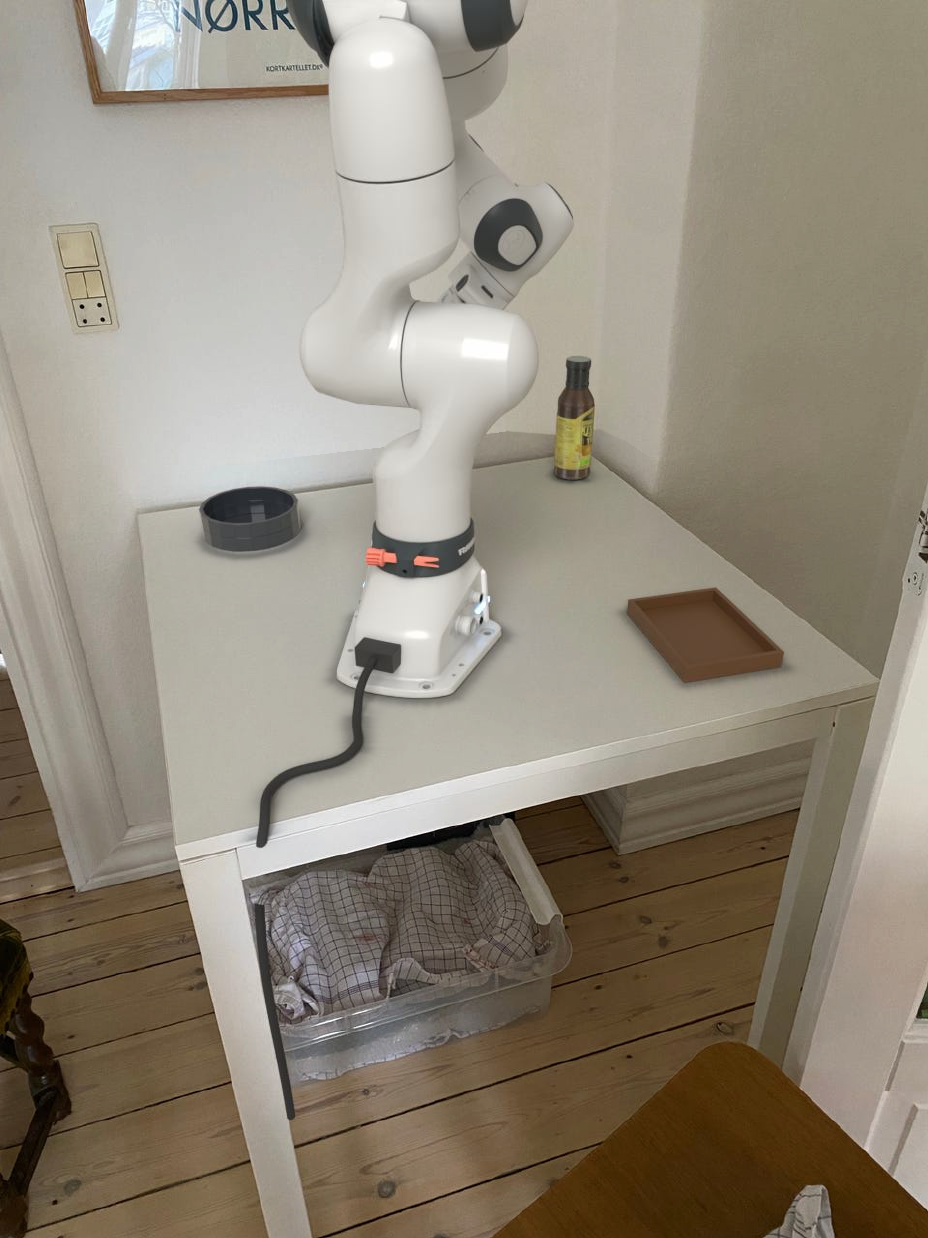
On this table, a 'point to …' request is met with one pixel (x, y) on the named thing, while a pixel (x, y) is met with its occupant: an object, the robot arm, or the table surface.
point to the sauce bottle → (575, 422)
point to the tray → (703, 634)
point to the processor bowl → (250, 518)
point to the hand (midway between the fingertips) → (411, 361)
